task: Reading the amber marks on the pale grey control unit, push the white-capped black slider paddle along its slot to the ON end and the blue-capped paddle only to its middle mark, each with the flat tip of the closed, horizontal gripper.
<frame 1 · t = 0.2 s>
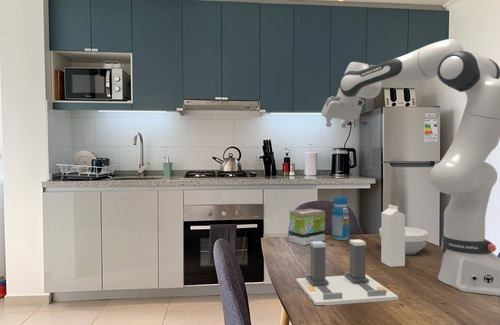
hand: (335, 127, 154), 54 cm above the table, tool tilted 30°, fingers open, 8 cm apart
paddle white: (357, 260, 105), point 7 cm above the table, slide at 0.0 cm
bowl: (402, 251, 142), on the table
paddle blue: (317, 262, 103), point 7 cm above the table, slide at 0.0 cm
milk: (392, 264, 125), on the table
tea box: (307, 241, 159), on the table
console: (343, 290, 100), on the table
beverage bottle: (340, 238, 165), on the table
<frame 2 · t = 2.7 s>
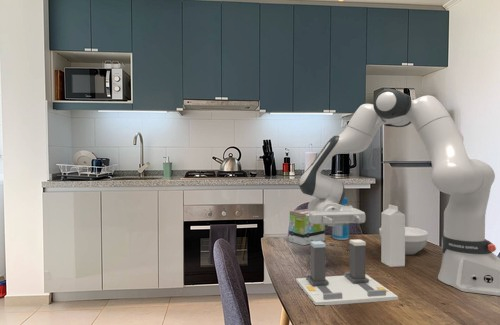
hand: (345, 221, 113), 18 cm above the table, tool horizontal, fingers open, 8 cm apart
nothing on the table moved.
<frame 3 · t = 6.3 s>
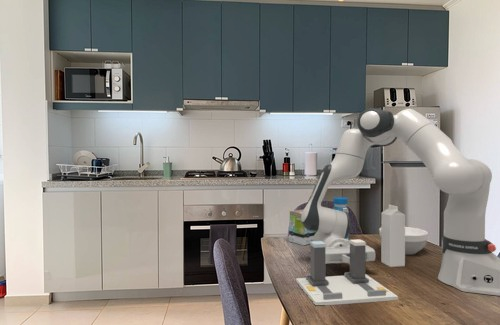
hand: (355, 261, 107), 6 cm above the table, tool horizontal, fingers closed, pressing on paddle white
paddle white: (357, 260, 105), point 7 cm above the table, slide at 0.0 cm, touching gripper
everything else where it was.
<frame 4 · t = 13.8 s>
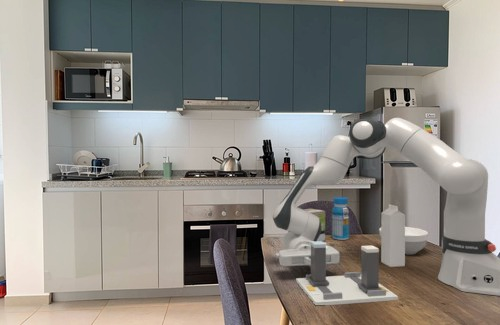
hand: (316, 264, 104), 6 cm above the table, tool horizontal, fingers closed, pressing on paddle blue
paddle white: (369, 268, 97), point 7 cm above the table, slide at 7.6 cm
paddle blue: (318, 262, 103), point 7 cm above the table, slide at 0.3 cm, touching gripper
everything else where it was.
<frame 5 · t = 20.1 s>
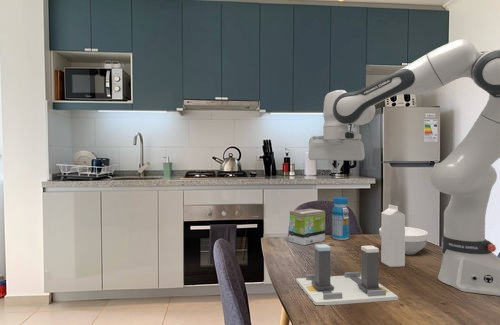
hand: (335, 172, 123), 34 cm above the table, tool pointing down, fingers closed
paddle blue: (322, 266, 99), point 7 cm above the table, slide at 3.9 cm
everything else where it was.
at the end: paddle white slide at 7.6 cm; paddle blue slide at 3.9 cm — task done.
